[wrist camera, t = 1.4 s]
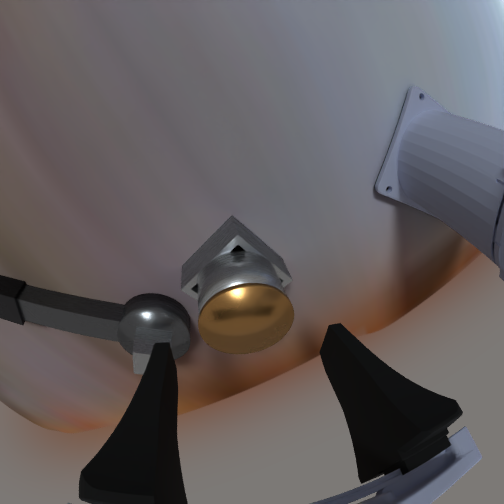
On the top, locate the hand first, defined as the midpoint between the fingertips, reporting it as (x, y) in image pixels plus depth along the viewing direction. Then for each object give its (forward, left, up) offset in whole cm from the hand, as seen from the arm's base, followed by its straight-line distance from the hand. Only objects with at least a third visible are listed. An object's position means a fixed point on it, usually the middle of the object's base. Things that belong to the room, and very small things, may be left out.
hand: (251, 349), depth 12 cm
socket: (0, 0, -7) cm, 7 cm away
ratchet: (+13, +6, -7) cm, 16 cm away
